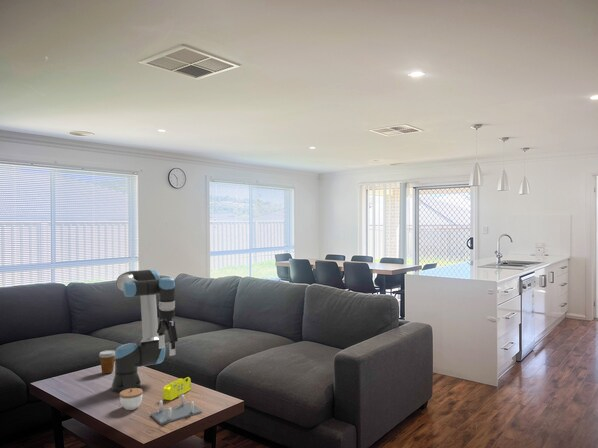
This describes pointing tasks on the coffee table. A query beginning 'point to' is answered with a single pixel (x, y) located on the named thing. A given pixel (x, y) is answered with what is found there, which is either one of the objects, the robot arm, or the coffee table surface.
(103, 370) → the disposable coffee cup
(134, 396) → the lidded jar
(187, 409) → the pin tray
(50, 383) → the coffee table surface
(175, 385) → the yellow toy chassis
